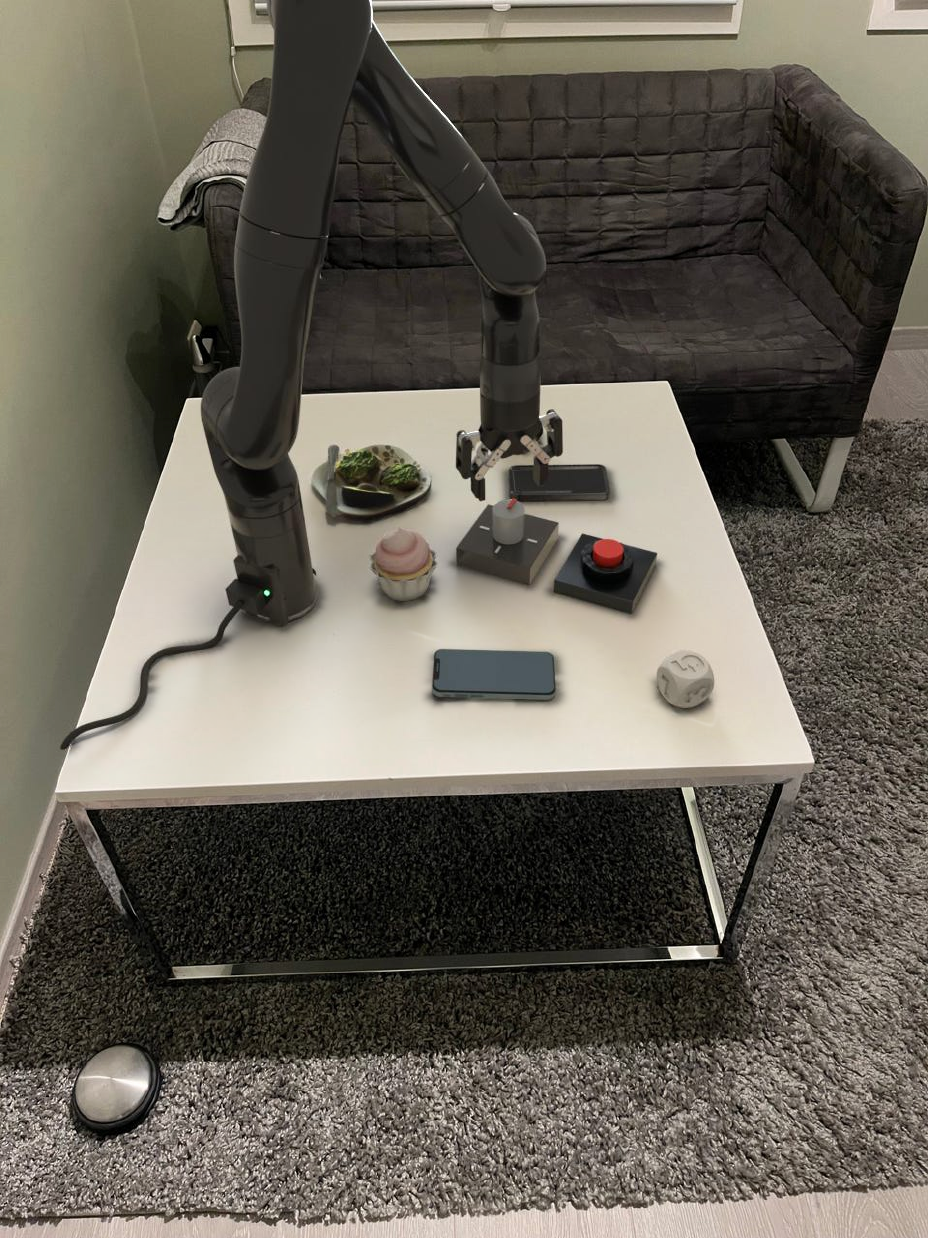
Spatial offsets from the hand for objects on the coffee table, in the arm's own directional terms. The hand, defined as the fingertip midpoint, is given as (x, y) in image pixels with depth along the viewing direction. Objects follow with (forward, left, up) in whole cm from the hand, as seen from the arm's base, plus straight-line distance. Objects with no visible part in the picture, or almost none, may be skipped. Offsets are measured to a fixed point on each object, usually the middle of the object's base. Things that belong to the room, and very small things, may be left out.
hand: (509, 490), depth 136 cm
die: (-17, -30, -11) cm, 36 cm away
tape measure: (+26, +9, -11) cm, 30 cm away
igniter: (0, -14, -11) cm, 18 cm away
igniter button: (0, -14, -7) cm, 16 cm away
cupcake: (-13, +10, -11) cm, 19 cm away
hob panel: (0, 0, -11) cm, 11 cm away
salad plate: (+5, +25, -11) cm, 28 cm away
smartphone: (-24, -8, -11) cm, 27 cm away
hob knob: (0, 0, -7) cm, 7 cm away
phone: (+17, -1, -11) cm, 20 cm away
